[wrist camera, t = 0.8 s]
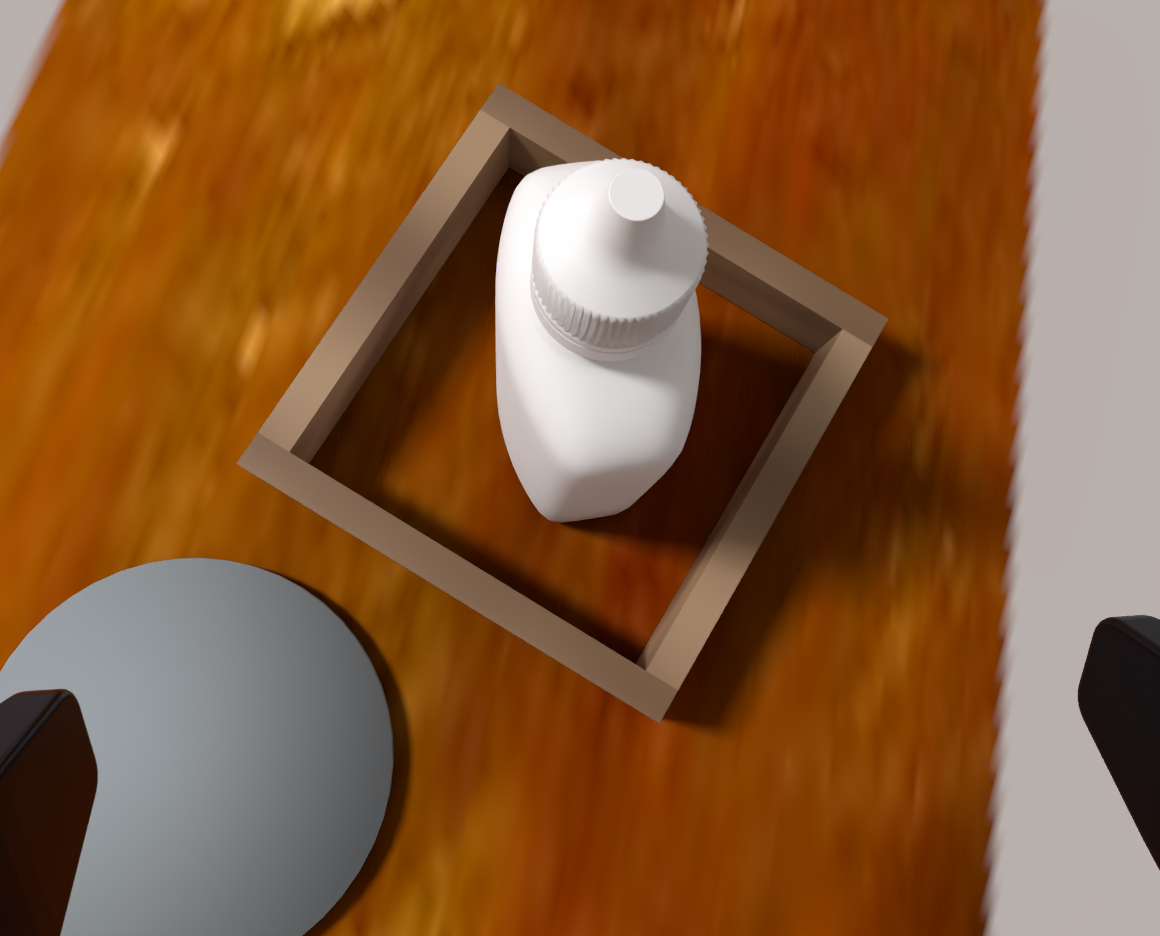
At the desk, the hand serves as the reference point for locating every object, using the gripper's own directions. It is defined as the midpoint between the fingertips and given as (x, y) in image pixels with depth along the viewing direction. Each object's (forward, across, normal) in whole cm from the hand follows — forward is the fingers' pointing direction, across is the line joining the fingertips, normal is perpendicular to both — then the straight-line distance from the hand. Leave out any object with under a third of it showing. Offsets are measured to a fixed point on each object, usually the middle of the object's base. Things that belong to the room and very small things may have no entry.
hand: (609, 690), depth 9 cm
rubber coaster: (+11, +8, +10) cm, 17 cm away
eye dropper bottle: (+15, -1, +4) cm, 16 cm away
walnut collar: (+15, -1, +4) cm, 16 cm away
